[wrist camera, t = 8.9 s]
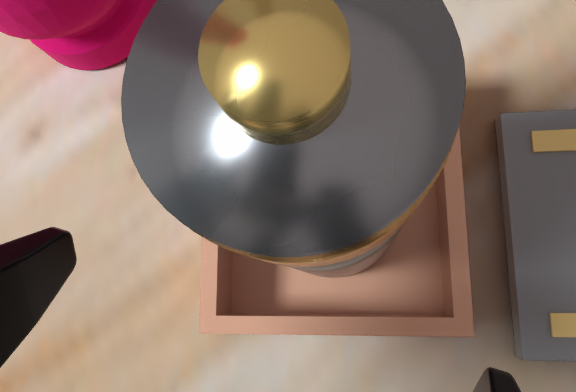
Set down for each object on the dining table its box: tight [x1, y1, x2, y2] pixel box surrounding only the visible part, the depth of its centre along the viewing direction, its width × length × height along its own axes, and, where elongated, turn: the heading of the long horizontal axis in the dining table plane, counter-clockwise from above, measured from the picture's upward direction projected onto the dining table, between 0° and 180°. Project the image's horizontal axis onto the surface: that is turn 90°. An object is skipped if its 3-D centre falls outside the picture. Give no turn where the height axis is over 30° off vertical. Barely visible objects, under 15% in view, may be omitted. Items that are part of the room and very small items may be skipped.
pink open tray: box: [199, 128, 475, 337], centre depth 18 cm, size 9×9×2 cm
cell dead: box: [121, 0, 466, 278], centre depth 12 cm, size 5×5×13 cm
